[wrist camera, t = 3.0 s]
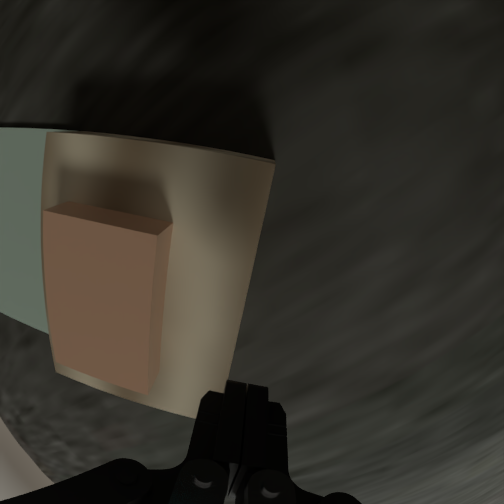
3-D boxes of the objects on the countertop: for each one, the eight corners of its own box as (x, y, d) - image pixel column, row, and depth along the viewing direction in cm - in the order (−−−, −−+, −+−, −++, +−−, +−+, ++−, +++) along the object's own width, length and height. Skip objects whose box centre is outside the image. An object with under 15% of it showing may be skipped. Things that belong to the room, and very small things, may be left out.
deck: (275, 160, 17) (275, 164, 14) (225, 384, 22) (217, 423, 19) (84, 131, 17) (46, 131, 13) (80, 342, 22) (55, 371, 19)
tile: (173, 222, 15) (157, 235, 13) (159, 370, 18) (147, 395, 15) (68, 201, 15) (43, 210, 13) (72, 342, 18) (55, 361, 15)
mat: (78, 130, 17) (75, 130, 17) (75, 340, 22) (72, 343, 22) (-19, 127, 17) (-22, 127, 17) (-12, 302, 22) (-15, 304, 22)
